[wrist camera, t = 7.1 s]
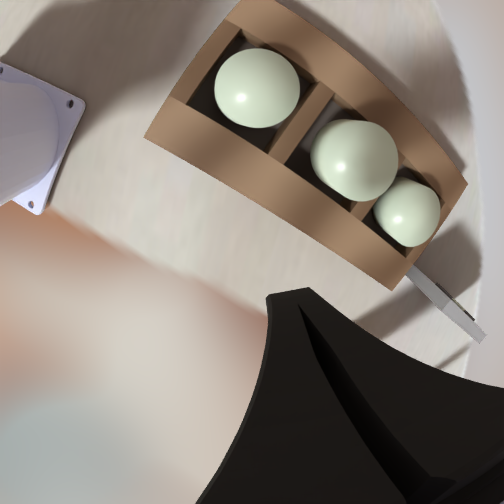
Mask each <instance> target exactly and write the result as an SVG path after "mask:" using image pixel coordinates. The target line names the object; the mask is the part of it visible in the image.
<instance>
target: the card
mask: <svg viewBox="0 0 504 504" xmlns="http://www.w3.org/2000/svg"><path fill="white" fill-rule="evenodd" d="M405 275H406V276H407V277H408V278H409V279H410V280H411V281H412V282H413V283H414V284H415V285H416V286H417V287H418V288H419V289H420V290H421V291H422V292H423V293H424V294H425V295H426V296H427V297H428V298H429V299H430V300H431V301H432V302H433V303H434V304H435V305H436V306H437V307H438V308H439V309H440V310H441V311H442V312H443V313H444V314H445V315H446V316H448V317H449V318H450V319H451V320H452V321H454V322H455V323H456V324H457V325H458V326H460V327H461V328H462V329H463V330H464V331H465V332H467V333H468V334H469V335H470V336H471V337H472V338H473V339H475V340H476V341H477V342H478V343H480V342H481V341H482V340H483V339H484V338H485V336H486V334H485V333H484V332H483V331H482V330H481V329H480V328H479V326H478V325H477V324H476V323H475V322H474V320H475V319H474V318H473V317H472V316H471V315H470V314H469V313H468V312H467V311H466V310H465V309H464V308H463V307H462V306H461V305H460V304H459V303H458V302H457V301H456V300H455V299H454V298H453V297H452V296H451V295H450V294H449V293H448V292H447V291H445V290H444V289H443V288H442V287H441V286H440V285H439V284H438V283H436V284H434V283H433V282H432V281H431V280H430V279H429V278H428V277H427V276H426V275H425V274H423V273H422V272H421V271H420V270H419V269H418V268H417V267H415V266H414V265H412V267H411V268H410V269H409V270H408V272H407V273H406V274H405Z"/></svg>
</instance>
